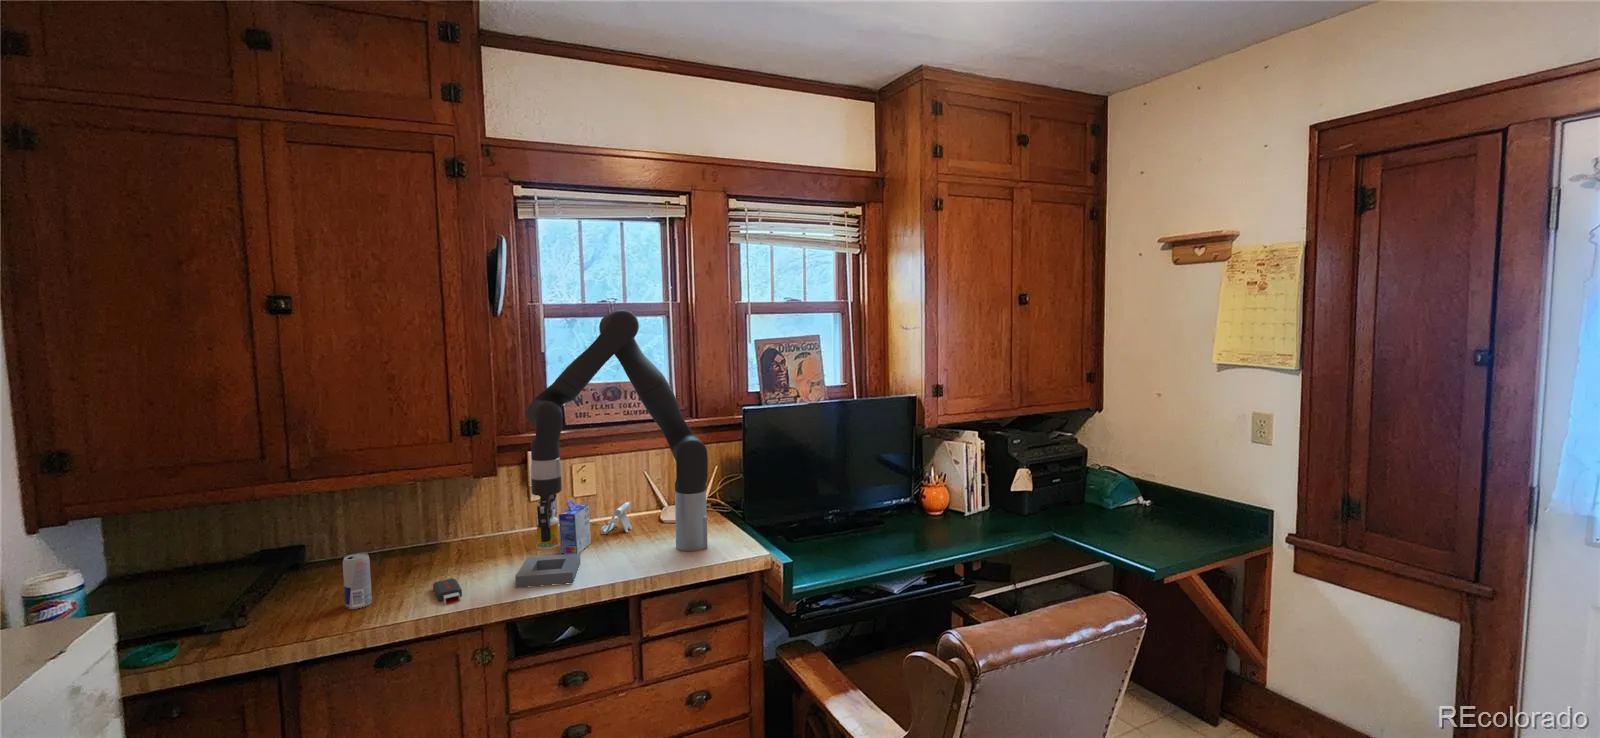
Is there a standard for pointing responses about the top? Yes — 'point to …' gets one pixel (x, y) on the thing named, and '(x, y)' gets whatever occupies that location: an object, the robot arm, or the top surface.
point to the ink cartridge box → (574, 528)
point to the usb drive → (447, 591)
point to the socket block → (548, 570)
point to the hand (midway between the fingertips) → (548, 537)
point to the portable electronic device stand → (622, 515)
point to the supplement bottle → (554, 534)
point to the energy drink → (357, 580)
